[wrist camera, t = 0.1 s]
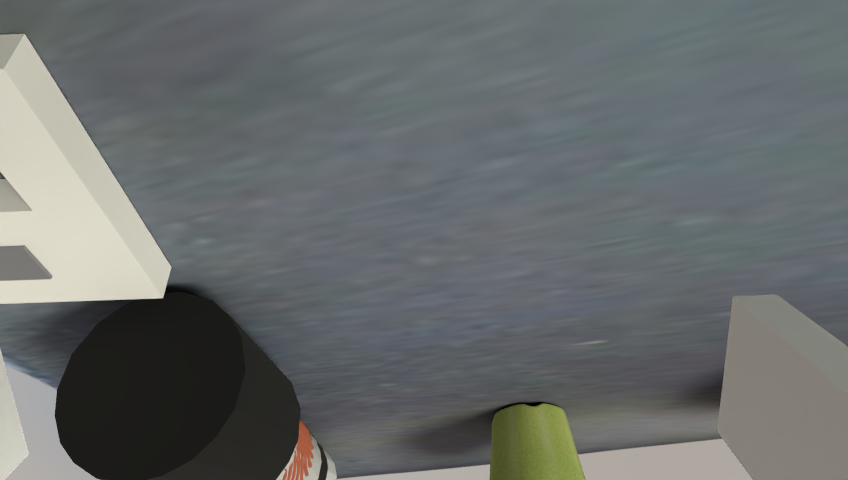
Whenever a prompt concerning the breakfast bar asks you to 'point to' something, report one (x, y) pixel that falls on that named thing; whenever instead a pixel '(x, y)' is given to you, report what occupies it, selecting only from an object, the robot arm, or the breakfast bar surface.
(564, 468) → the plant pot
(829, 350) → the robot arm
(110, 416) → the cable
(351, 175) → the breakfast bar surface
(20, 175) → the white base plate
